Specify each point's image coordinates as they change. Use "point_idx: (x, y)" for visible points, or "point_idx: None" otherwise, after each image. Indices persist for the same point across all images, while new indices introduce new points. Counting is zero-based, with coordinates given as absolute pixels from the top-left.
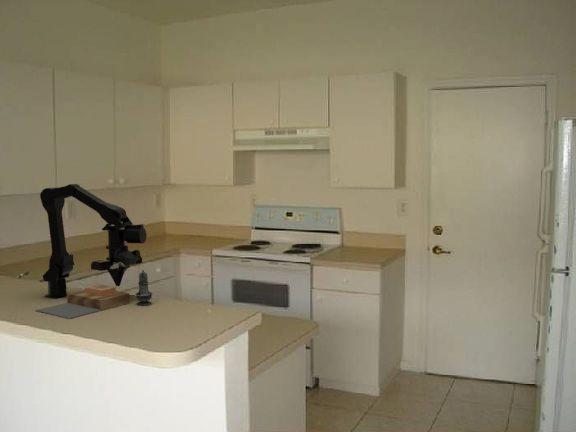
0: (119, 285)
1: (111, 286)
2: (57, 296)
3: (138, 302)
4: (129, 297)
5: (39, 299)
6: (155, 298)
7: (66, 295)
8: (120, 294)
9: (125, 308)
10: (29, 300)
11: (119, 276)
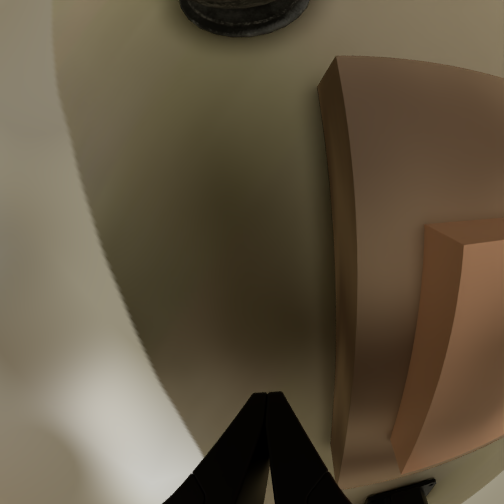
0: (260, 394)
1: (455, 331)
2: (425, 485)
3: (274, 9)
4: (326, 72)
5: (452, 482)
6: (73, 89)
7: (388, 493)
8: (441, 102)
9: (422, 4)
10: (468, 480)
11: (247, 495)
